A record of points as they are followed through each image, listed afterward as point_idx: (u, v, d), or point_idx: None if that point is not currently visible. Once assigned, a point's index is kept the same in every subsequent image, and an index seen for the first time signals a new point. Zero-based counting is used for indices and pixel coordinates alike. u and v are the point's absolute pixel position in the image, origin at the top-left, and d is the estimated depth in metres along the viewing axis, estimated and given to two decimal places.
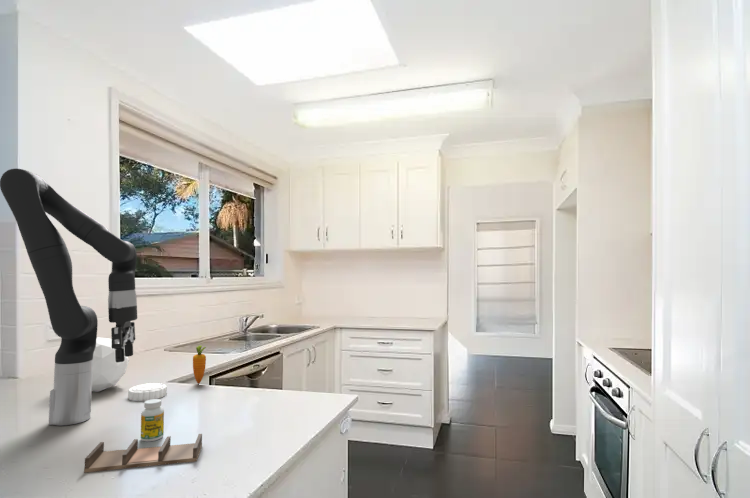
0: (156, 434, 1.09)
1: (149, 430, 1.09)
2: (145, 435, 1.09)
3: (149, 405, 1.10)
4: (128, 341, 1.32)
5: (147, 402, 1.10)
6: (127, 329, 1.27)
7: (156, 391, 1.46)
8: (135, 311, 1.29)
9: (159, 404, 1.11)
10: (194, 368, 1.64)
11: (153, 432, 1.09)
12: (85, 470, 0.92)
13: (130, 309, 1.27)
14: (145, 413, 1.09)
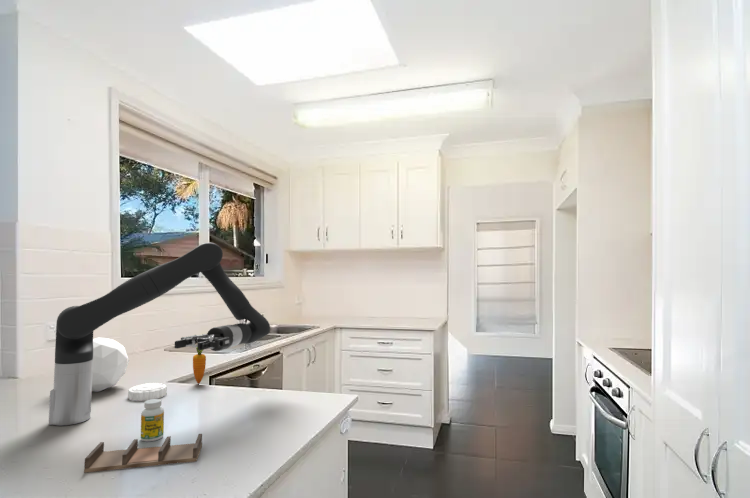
0: (156, 434, 1.09)
1: (149, 430, 1.09)
2: (145, 435, 1.09)
3: (149, 405, 1.10)
4: (187, 342, 1.28)
5: (147, 402, 1.10)
6: None
7: (156, 391, 1.46)
8: (222, 349, 1.35)
9: (159, 404, 1.11)
10: (194, 368, 1.64)
11: (153, 432, 1.09)
12: (85, 470, 0.92)
13: (227, 346, 1.36)
14: (145, 413, 1.09)
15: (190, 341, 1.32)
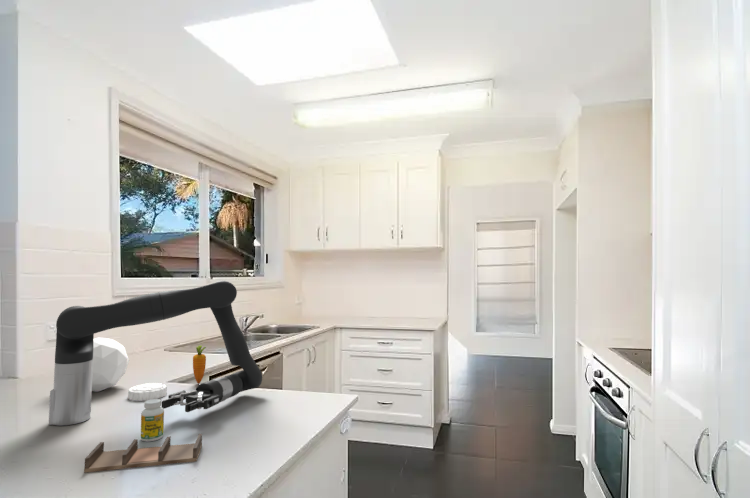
0: (156, 434, 1.09)
1: (149, 430, 1.09)
2: (145, 435, 1.09)
3: (149, 405, 1.10)
4: (175, 400, 1.24)
5: (147, 402, 1.10)
6: None
7: (156, 391, 1.46)
8: None
9: (159, 404, 1.11)
10: (194, 368, 1.64)
11: (153, 432, 1.09)
12: (85, 470, 0.92)
13: None
14: (145, 413, 1.09)
15: (178, 398, 1.27)
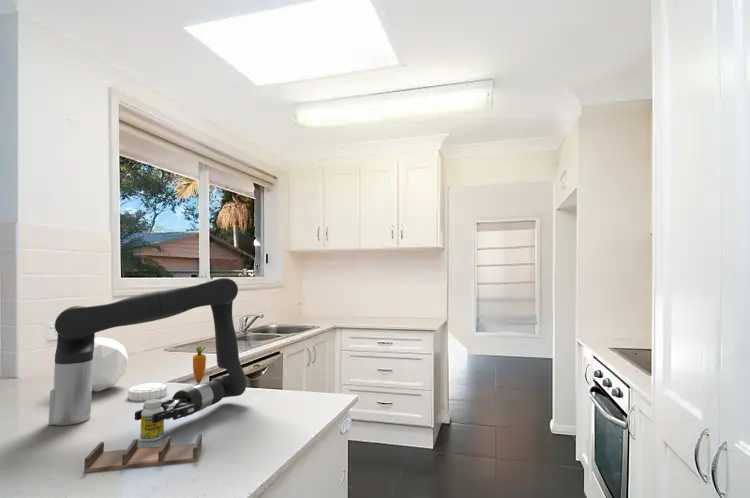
0: (156, 434, 1.09)
1: (149, 430, 1.09)
2: (145, 435, 1.09)
3: (149, 405, 1.10)
4: None
5: (147, 402, 1.10)
6: (179, 413, 1.17)
7: (156, 391, 1.46)
8: None
9: (159, 404, 1.11)
10: (194, 368, 1.64)
11: (153, 432, 1.09)
12: (85, 470, 0.92)
13: (196, 410, 1.23)
14: (145, 413, 1.09)
15: None
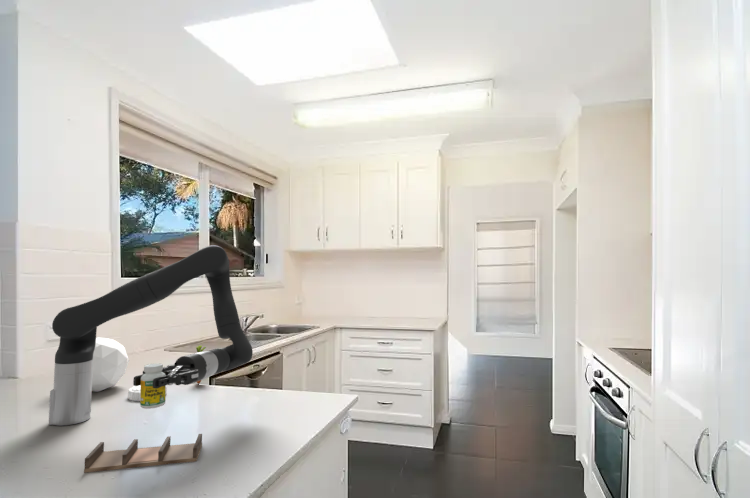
0: (157, 400, 1.00)
1: (150, 396, 0.99)
2: (146, 401, 0.99)
3: (149, 369, 1.00)
4: None
5: (147, 366, 1.00)
6: (182, 380, 1.07)
7: None
8: (193, 382, 1.13)
9: (160, 368, 1.01)
10: None
11: (154, 398, 0.99)
12: (85, 470, 0.92)
13: (200, 378, 1.13)
14: (145, 377, 0.99)
15: None
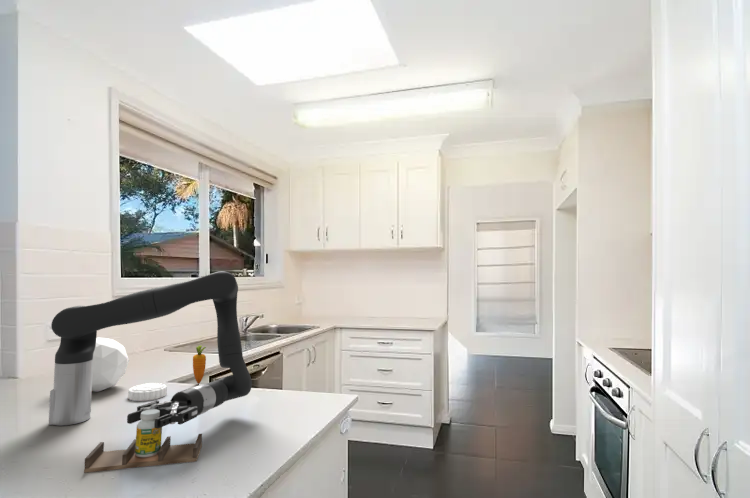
0: (153, 449, 0.98)
1: (145, 444, 0.97)
2: (141, 450, 0.97)
3: (146, 417, 0.98)
4: None
5: (144, 413, 0.99)
6: None
7: (157, 391, 1.46)
8: None
9: (157, 415, 1.00)
10: (194, 368, 1.64)
11: (150, 447, 0.97)
12: (85, 470, 0.92)
13: (197, 414, 1.11)
14: (141, 425, 0.98)
15: None
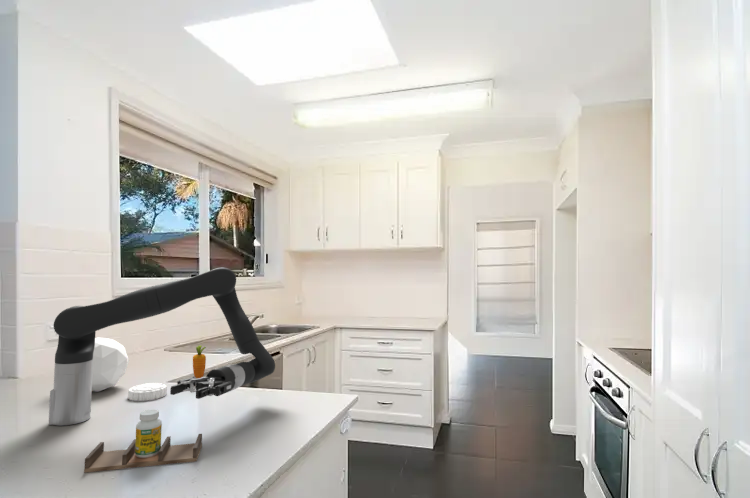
0: (153, 449, 0.98)
1: (145, 445, 0.97)
2: (141, 451, 0.97)
3: (145, 417, 0.98)
4: (184, 386, 1.16)
5: (143, 413, 0.99)
6: None
7: (157, 391, 1.46)
8: None
9: (157, 415, 1.00)
10: (194, 368, 1.64)
11: (150, 447, 0.97)
12: (85, 470, 0.92)
13: None
14: (140, 426, 0.97)
15: (188, 384, 1.19)
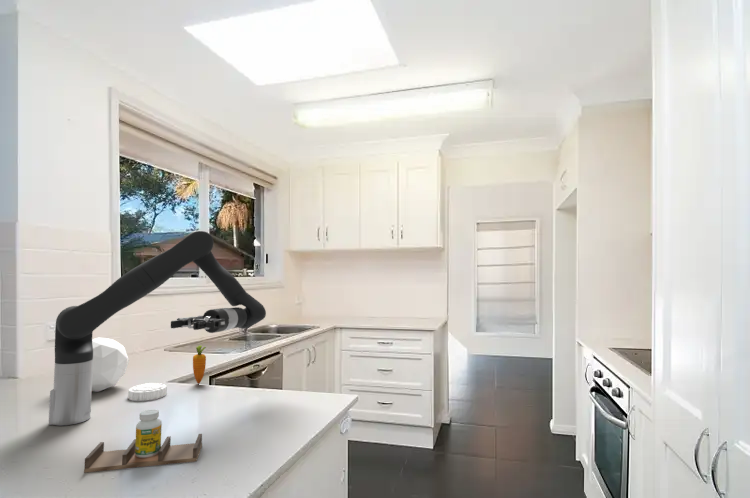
0: (153, 449, 0.98)
1: (146, 445, 0.97)
2: (141, 451, 0.97)
3: (145, 417, 0.98)
4: (183, 323, 1.30)
5: (143, 413, 0.99)
6: None
7: (157, 391, 1.46)
8: (217, 331, 1.37)
9: (157, 415, 1.00)
10: (194, 368, 1.64)
11: (150, 447, 0.98)
12: (85, 470, 0.92)
13: (223, 328, 1.37)
14: (141, 426, 0.97)
15: (186, 322, 1.33)
